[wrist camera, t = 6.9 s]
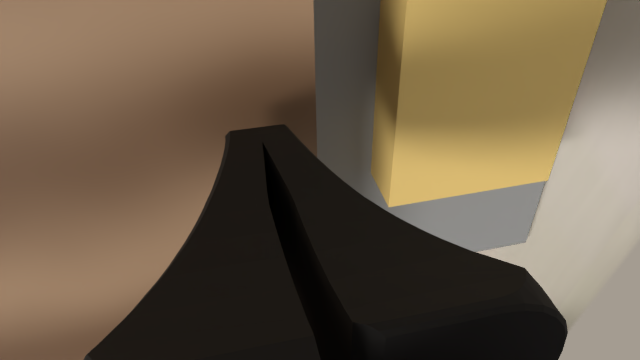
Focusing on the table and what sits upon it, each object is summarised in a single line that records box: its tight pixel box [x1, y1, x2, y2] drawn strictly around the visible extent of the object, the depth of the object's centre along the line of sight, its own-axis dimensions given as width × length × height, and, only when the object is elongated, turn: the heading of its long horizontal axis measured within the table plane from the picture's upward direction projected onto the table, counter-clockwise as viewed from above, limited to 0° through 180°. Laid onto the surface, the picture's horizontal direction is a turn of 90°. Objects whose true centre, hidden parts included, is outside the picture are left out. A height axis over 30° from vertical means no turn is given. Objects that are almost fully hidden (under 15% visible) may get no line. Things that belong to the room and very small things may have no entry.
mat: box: [313, 0, 545, 252], centre depth 16 cm, size 20×10×1 cm, turn 0°
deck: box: [0, 0, 317, 360], centre depth 13 cm, size 20×12×4 cm, turn 0°
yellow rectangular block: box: [371, 0, 607, 207], centre depth 16 cm, size 9×6×2 cm, turn 0°
